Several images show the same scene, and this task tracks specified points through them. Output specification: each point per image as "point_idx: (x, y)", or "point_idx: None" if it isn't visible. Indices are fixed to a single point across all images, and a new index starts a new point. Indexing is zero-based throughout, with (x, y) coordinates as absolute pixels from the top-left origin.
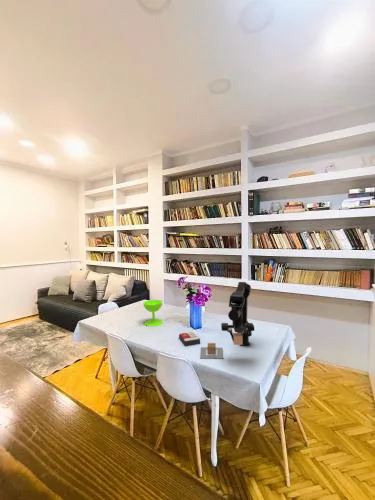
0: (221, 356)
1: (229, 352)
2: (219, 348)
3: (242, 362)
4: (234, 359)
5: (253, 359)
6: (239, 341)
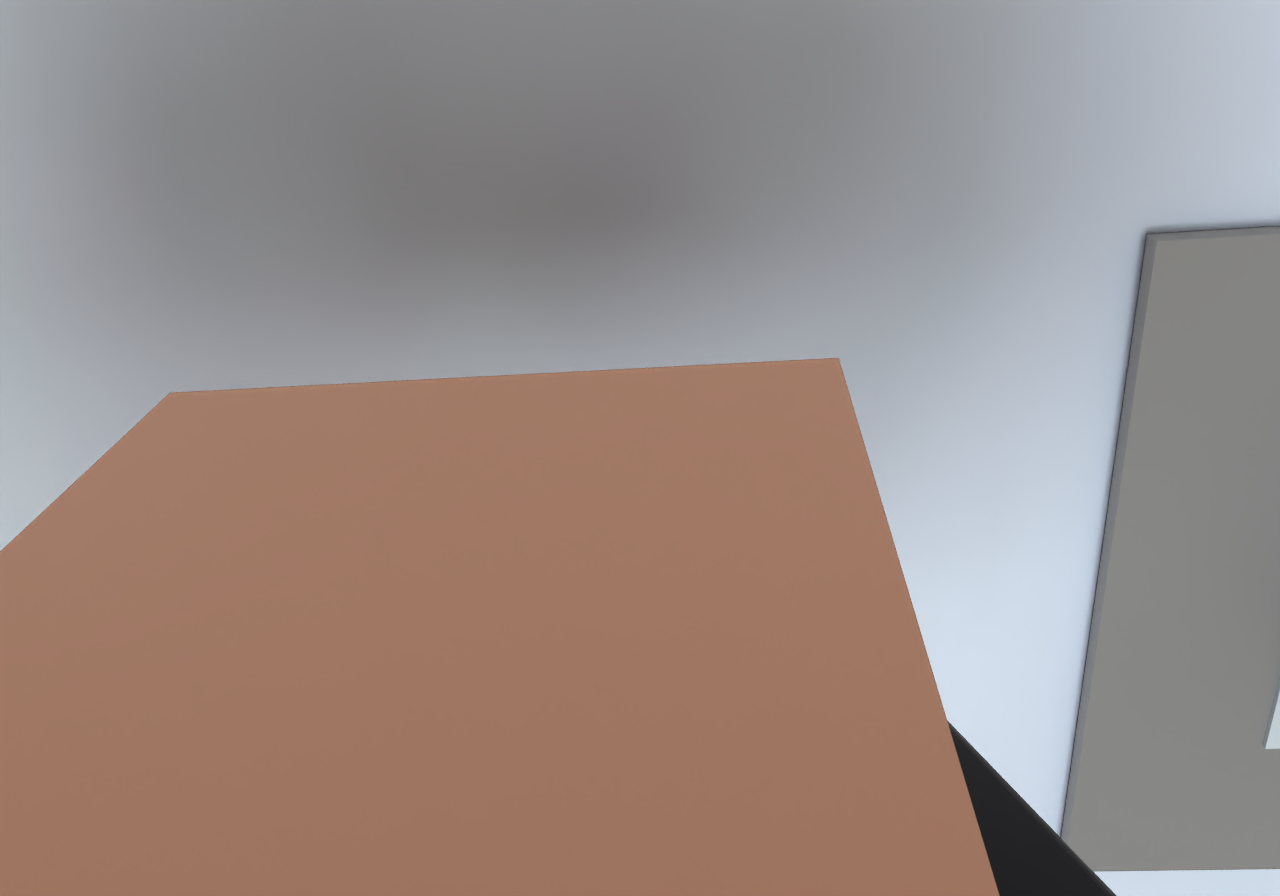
0: (1208, 365)
1: None
2: (1167, 825)
3: (459, 48)
4: (745, 240)
5: (107, 301)
6: (311, 513)
